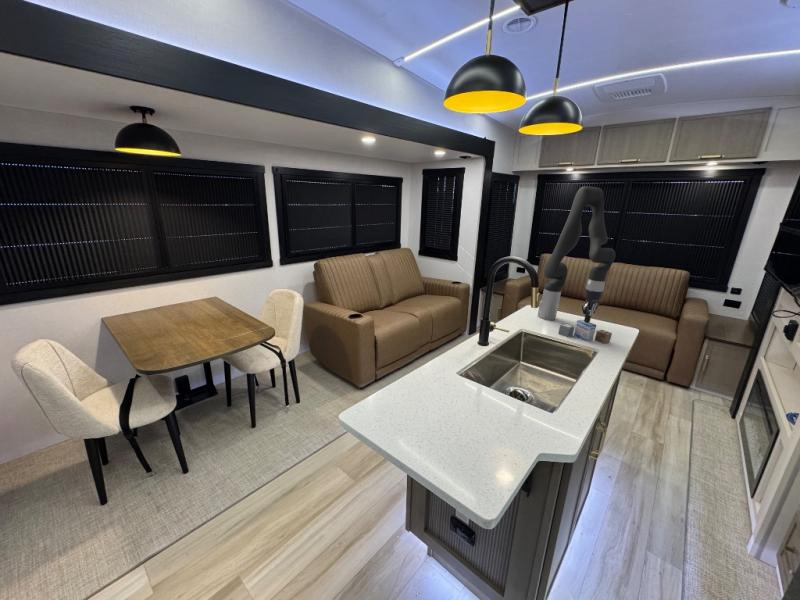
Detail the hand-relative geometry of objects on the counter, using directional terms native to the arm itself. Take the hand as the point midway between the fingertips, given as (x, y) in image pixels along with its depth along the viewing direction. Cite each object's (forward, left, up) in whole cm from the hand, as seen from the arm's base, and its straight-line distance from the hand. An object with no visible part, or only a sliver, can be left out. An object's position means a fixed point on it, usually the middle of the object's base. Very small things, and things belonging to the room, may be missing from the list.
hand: (586, 321), depth 161 cm
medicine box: (0, 0, -9) cm, 9 cm away
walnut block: (+7, +5, -9) cm, 12 cm away
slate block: (-7, -4, -9) cm, 12 cm away
